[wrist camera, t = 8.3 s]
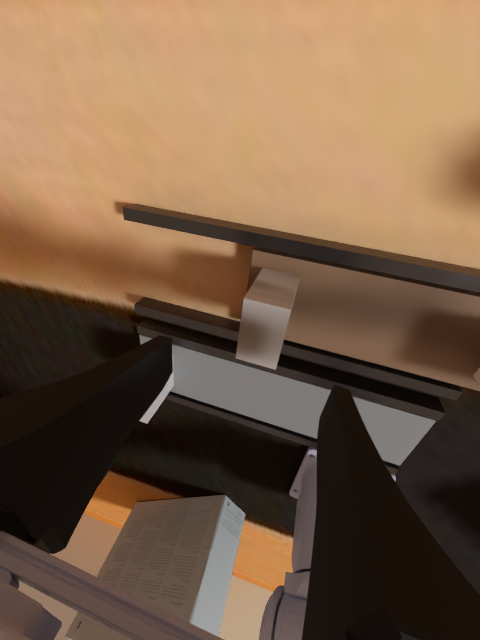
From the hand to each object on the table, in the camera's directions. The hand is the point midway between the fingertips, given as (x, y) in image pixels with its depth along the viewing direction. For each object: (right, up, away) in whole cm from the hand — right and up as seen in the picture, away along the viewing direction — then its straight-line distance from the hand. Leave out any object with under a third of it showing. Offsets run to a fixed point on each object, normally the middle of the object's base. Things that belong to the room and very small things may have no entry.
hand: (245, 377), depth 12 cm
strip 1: (+12, +2, +5) cm, 13 cm away
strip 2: (+2, -4, +12) cm, 13 cm away
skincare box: (-9, -27, +31) cm, 42 cm away
